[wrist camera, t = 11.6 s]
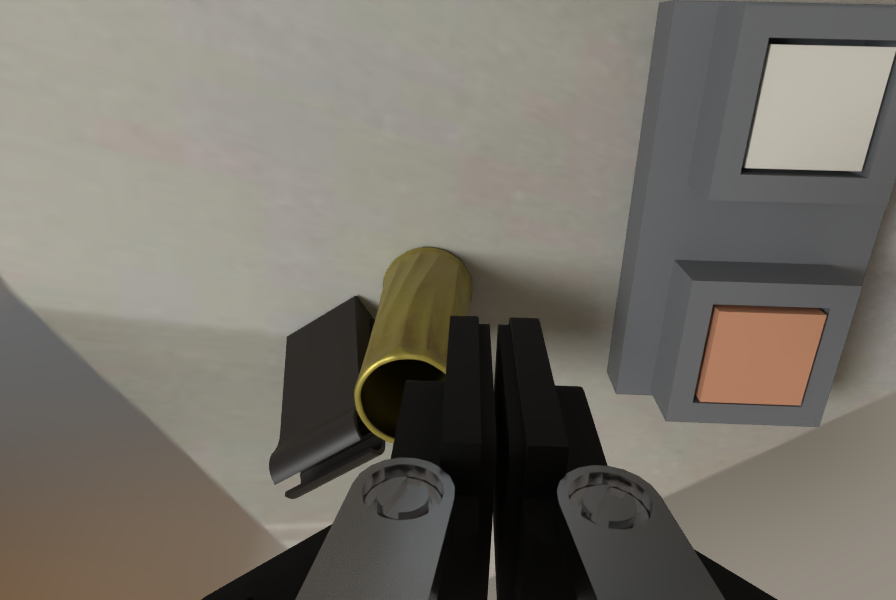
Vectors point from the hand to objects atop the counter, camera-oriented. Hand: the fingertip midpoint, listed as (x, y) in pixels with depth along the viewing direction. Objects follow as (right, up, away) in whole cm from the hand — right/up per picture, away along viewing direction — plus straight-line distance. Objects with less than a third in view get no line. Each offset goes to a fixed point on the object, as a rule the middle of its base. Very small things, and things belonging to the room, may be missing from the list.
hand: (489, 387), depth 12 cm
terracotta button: (+18, -1, +27) cm, 32 cm away
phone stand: (-7, -3, +33) cm, 34 cm away
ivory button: (+18, +12, +22) cm, 31 cm away
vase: (-2, +3, +31) cm, 31 cm away
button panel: (+18, +7, +28) cm, 34 cm away
